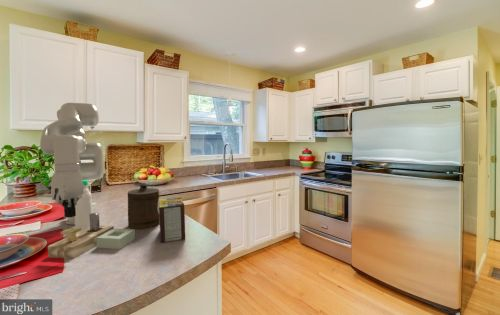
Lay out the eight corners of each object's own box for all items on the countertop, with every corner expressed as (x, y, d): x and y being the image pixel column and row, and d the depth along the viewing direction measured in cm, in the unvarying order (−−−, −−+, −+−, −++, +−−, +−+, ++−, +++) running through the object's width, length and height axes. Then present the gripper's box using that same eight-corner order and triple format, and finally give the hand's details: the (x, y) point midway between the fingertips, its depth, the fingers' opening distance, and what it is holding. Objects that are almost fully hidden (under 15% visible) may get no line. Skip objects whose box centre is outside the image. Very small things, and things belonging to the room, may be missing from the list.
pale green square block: (97, 250, 97) (96, 237, 97) (113, 239, 107) (113, 228, 107) (120, 251, 96) (120, 238, 96) (135, 240, 106) (134, 229, 106)
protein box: (182, 228, 121) (181, 197, 120) (185, 239, 107) (184, 204, 106) (159, 230, 118) (158, 198, 117) (160, 243, 103) (158, 207, 102)
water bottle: (74, 237, 110) (70, 182, 109) (76, 232, 117) (73, 180, 115) (92, 234, 114) (89, 180, 112) (94, 229, 120) (91, 178, 118)
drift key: (61, 245, 92) (60, 231, 91) (71, 241, 96) (70, 227, 96) (72, 246, 91) (71, 232, 91) (81, 241, 96) (81, 228, 95)
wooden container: (166, 224, 127) (165, 182, 125) (139, 233, 114) (137, 187, 113) (148, 219, 135) (147, 179, 133) (122, 227, 122) (120, 184, 121)
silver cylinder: (88, 240, 104) (87, 214, 104) (94, 237, 108) (93, 212, 107) (96, 240, 104) (94, 215, 103) (102, 237, 107) (100, 212, 107)
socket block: (48, 259, 90) (47, 246, 89) (93, 236, 111) (92, 225, 111) (73, 260, 88) (72, 247, 88) (114, 237, 110) (113, 226, 110)
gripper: (74, 166, 100) (77, 211, 101) (39, 170, 85) (42, 222, 86) (91, 166, 99) (94, 211, 100) (58, 170, 84) (62, 223, 85)
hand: (70, 216), depth 93 cm, fingers closed
